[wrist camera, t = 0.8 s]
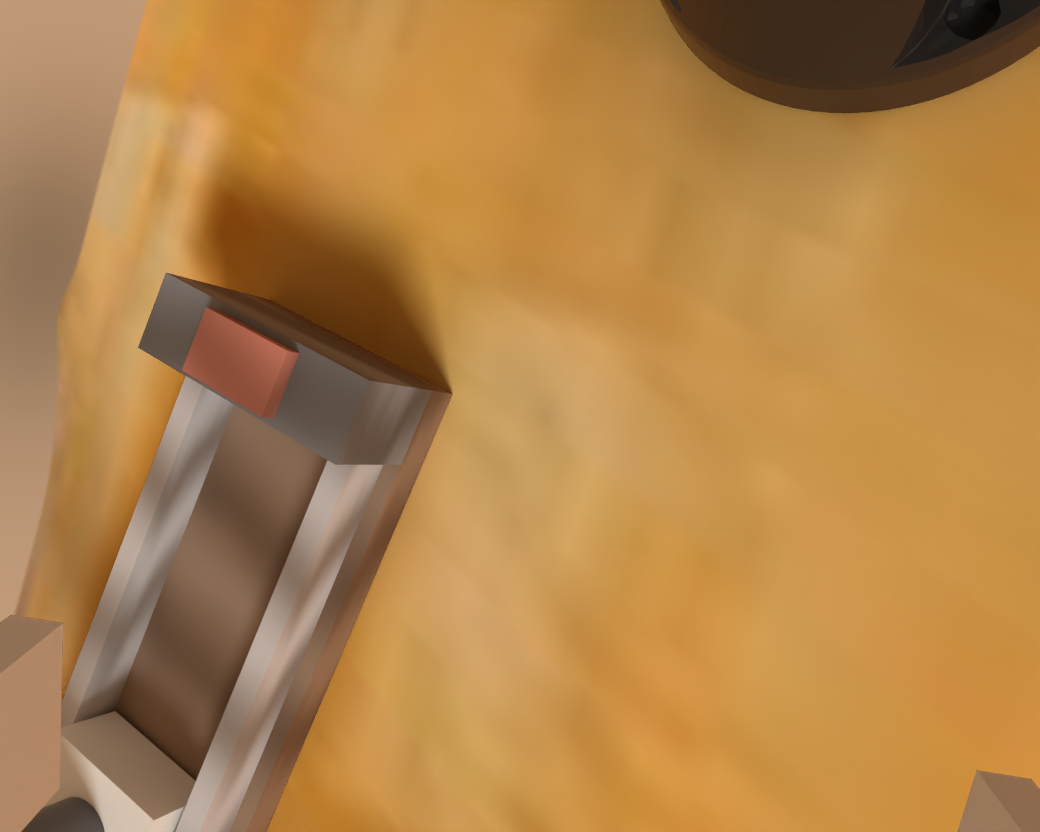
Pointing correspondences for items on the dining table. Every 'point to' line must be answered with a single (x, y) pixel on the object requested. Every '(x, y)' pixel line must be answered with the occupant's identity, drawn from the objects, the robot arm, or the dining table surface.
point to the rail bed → (250, 543)
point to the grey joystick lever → (113, 782)
